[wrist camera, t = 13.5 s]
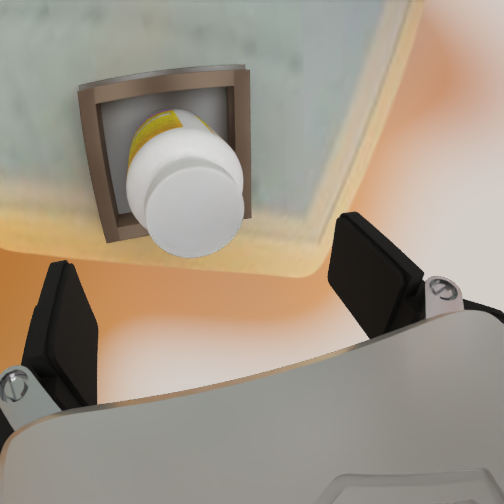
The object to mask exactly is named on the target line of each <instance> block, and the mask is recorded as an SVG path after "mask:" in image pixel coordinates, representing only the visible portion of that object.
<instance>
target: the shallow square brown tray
mask: <svg viewBox="0 0 504 504" xmlns="http://www.w3.org/2000/svg"><path fill="white" fill-rule="evenodd" d="M78 99H79V107H80V115H81V122H82V129H83V135H84V142H85V148H86V153H87V159H88V164H89V170H90V175H91V180H92V184H93V189H94V194H95V198H96V203H97V207H98V211H99V215H100V219H101V223H102V227H103V231H104V235H105V239H106V243H111V242H116V241H121V240H126V239H132V238H137V237H143V236H148V235H150V234H149V232H148V230H147V229H146V228H144V227H143V226H142V225H141V224H140V223H139V221H138V220H137V219H136V218H135V216H134V215H133V213H132V211H131V208H130V206H129V203H128V199H127V192H126V180H127V170H128V161H129V153H130V146H131V141H132V138H133V135H134V133H135V131H136V130H137V128H138V127H139V125H140V124H141V123H142V122H143V121H144V120H145V119H146V118H147V117H149V116H150V115H152V114H154V113H156V112H158V111H161V110H165V109H183V110H187V111H189V112H191V113H193V114H195V115H197V116H198V117H199V118H201V119H202V120H203V121H204V122H205V123H206V124H207V125H208V126H209V127H210V128H211V129H212V130H213V131H214V132H215V133H216V134H217V135H219V136H220V137H221V138H222V139H223V140H224V141H225V142H226V143H227V144H228V145H229V146H230V147H231V148H232V150H233V151H234V152H235V154H236V156H237V158H238V160H239V162H240V165H241V168H242V172H243V192H242V196H243V200H244V217H243V219H248V218H251V133H250V70H245V65H218V66H202V67H189V68H179V69H170V70H161V71H154V72H146V73H140V74H133V75H127V76H122V77H116V78H111V79H106V80H101V81H96V82H92V83H87V84H83V85H79V91H78Z"/></svg>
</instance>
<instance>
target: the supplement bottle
mask: <svg viewBox="0 0 504 504" xmlns="http://www.w3.org/2000/svg"><path fill="white" fill-rule="evenodd" d="M126 192H127V199H128V203H129V206H130V208H131V211H132V213H133V215H134V216H135V218H136V219H137V220H138V221H139V223H140V224H141V225H142V226H143V227H144V228H146V229H147V230H148V232H149V234H150V236H151V238H152V239H153V241H154V242H155V243H156V244H157V245H158V246H159V247H160V248H161V249H163V250H164V251H166V252H168V253H170V254H172V255H175V256H178V257H184V258H197V257H203V256H206V255H209V254H212V253H214V252H216V251H218V250H220V249H221V248H223V247H224V246H225V245H227V244H228V243H229V242H230V241H231V240H232V239H233V238H234V236H235V235H236V233H237V232H238V230H239V228H240V226H241V224H242V221H243V217H244V200H243V196H242V192H243V172H242V168H241V165H240V162H239V160H238V158H237V156H236V154H235V152H234V151H233V150H232V148H231V147H230V146H229V145H228V144H227V143H226V142H225V141H224V140H223V139H222V138H221V137H220V136H219V135H217V134H216V133H215V132H214V131H213V130H212V129H211V128H210V127H209V126H208V125H207V124H206V123H205V122H204V121H203V120H202V119H201V118H199V117H198V116H197V115H195V114H193V113H191V112H189V111H187V110H183V109H165V110H161V111H158V112H156V113H154V114H152V115H150V116H149V117H147V118H146V119H145V120H144V121H143V122H142V123H141V124H140V125H139V127H138V128H137V130H136V131H135V133H134V135H133V138H132V141H131V146H130V153H129V161H128V170H127V180H126Z"/></svg>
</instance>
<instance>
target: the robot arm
mask: <svg viewBox="0 0 504 504" xmlns="http://www.w3.org/2000/svg"><path fill="white" fill-rule="evenodd" d="M423 276H424V272H423V271H422V270H421V269H420V268H419V267H418V266H417V265H416V264H415V263H414V262H412V261H411V260H410V259H409V258H408V257H407V256H406V255H405V254H404V253H403V252H402V251H401V250H400V249H398V248H397V247H396V246H395V245H394V244H393V243H392V242H391V241H390V240H389V239H387V238H386V237H385V236H384V235H383V234H382V233H381V232H380V231H379V230H377V229H376V228H375V227H374V226H373V225H372V224H371V223H369V222H368V221H367V220H366V219H365V218H364V217H362V216H361V215H360V214H359V213H357V212H349V213H342V214H341V215H340V218H338V219H337V220H336V226H335V233H334V239H333V246H332V252H331V258H330V264H329V271H328V282H329V284H330V286H331V287H332V288H333V290H334V291H335V292H336V294H337V295H338V296H339V298H340V299H341V300H342V302H343V303H344V304H345V306H346V307H347V308H348V310H349V311H350V312H351V314H352V315H353V317H354V318H355V319H356V320H357V322H358V323H359V325H360V326H361V328H362V329H363V330H364V332H365V333H366V334H367V336H368V337H369V338H370V340H367V341H364V342H361V343H358V344H356V345H353V346H350V347H347V348H344V349H341V350H338V351H335V352H331V353H328V354H325V355H322V356H319V357H315V358H313V359H309V360H306V361H302V362H299V363H296V364H292V365H288V366H285V367H281V368H278V369H274V370H270V371H267V372H263V373H259V374H255V375H252V376H247V377H243V378H239V379H235V380H230V381H226V382H222V383H218V384H213V385H209V386H204V387H199V388H195V389H189V390H184V391H179V392H174V393H168V394H163V395H157V396H151V397H145V398H139V399H133V400H127V401H120V402H114V403H106V404H99V405H97V350H98V325H97V322H96V319H95V317H94V314H93V312H92V310H91V308H90V305H89V303H88V300H87V298H86V295H85V293H84V290H83V288H82V286H81V283H80V281H79V277H78V275H77V272H76V269H75V267H74V265H73V264H72V263H71V264H69V263H68V262H67V261H66V260H64V261H58V262H53V263H51V264H50V266H49V269H48V272H47V275H46V278H45V281H44V284H43V288H42V291H41V294H40V298H39V302H38V305H37V306H36V307H35V309H34V312H33V315H32V319H31V323H30V327H29V331H28V335H27V339H26V344H25V348H24V353H23V357H22V362H21V365H16V366H12V367H9V368H8V369H6V370H4V371H3V372H2V373H1V374H0V504H504V313H503V312H502V311H500V310H497V309H495V308H491V307H488V306H485V305H482V304H478V303H475V302H471V301H468V300H465V299H462V293H461V290H460V289H459V287H458V286H457V285H456V284H455V283H454V282H452V281H451V280H449V279H447V278H444V277H440V276H433V277H430V278H428V279H427V280H426V282H425V281H423V280H422V278H423Z"/></svg>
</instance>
